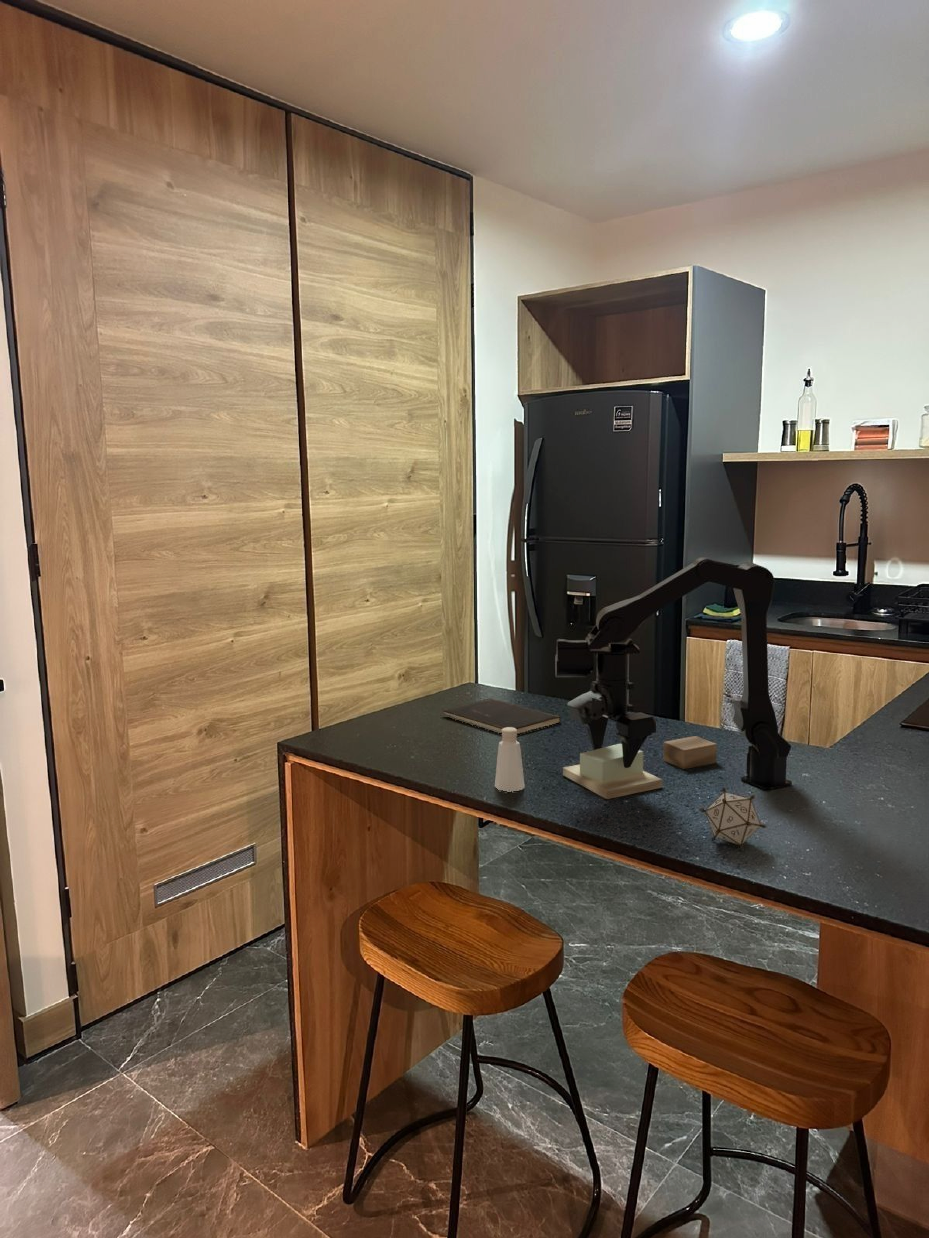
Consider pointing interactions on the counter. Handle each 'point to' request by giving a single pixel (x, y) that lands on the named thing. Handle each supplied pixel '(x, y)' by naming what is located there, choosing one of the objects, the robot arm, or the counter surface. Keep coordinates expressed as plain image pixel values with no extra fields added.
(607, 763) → the green block
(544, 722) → the hardcover book
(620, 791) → the birch board
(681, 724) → the counter surface
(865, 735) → the counter surface
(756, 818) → the game die
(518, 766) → the salt shaker
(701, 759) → the walnut block
